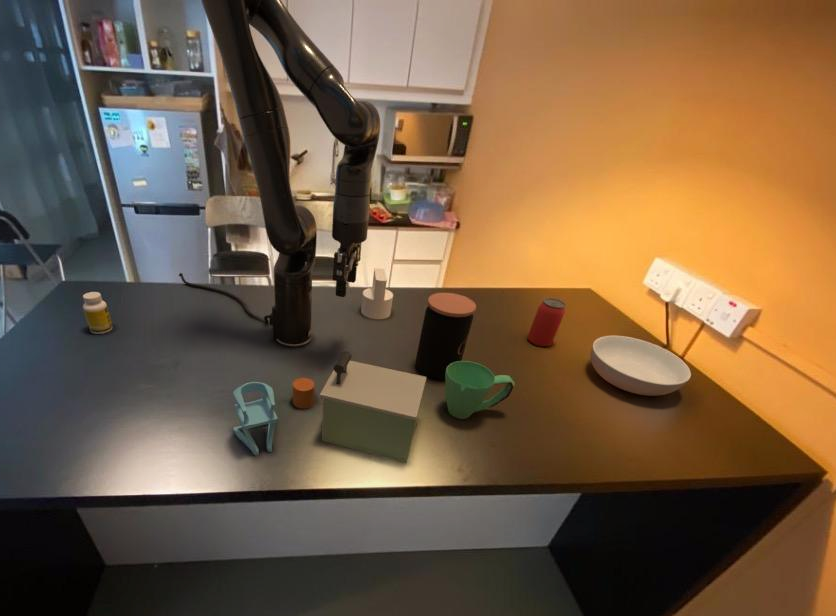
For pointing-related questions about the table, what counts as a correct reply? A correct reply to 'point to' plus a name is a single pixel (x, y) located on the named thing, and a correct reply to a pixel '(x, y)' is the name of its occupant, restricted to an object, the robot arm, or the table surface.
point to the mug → (472, 388)
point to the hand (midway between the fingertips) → (345, 288)
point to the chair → (255, 414)
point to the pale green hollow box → (367, 430)
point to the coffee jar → (444, 333)
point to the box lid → (374, 388)
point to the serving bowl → (638, 365)
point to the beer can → (546, 322)
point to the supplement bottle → (97, 313)
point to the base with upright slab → (377, 297)
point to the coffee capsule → (303, 393)
